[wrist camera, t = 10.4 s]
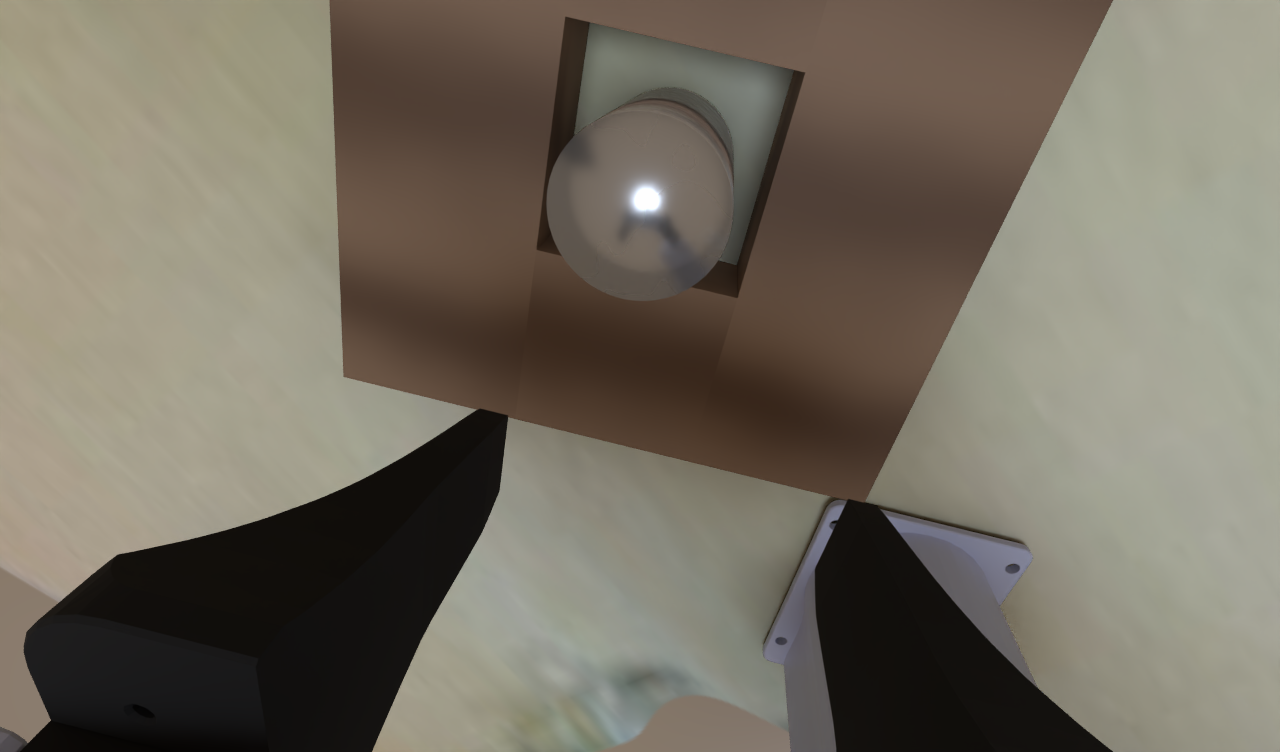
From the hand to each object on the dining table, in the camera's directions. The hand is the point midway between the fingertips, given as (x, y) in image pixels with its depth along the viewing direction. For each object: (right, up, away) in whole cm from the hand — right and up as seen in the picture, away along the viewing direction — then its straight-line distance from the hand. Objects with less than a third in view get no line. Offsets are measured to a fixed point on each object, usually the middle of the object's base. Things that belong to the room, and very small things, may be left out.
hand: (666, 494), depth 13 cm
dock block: (0, +9, +6) cm, 11 cm away
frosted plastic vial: (0, +9, +6) cm, 11 cm away
